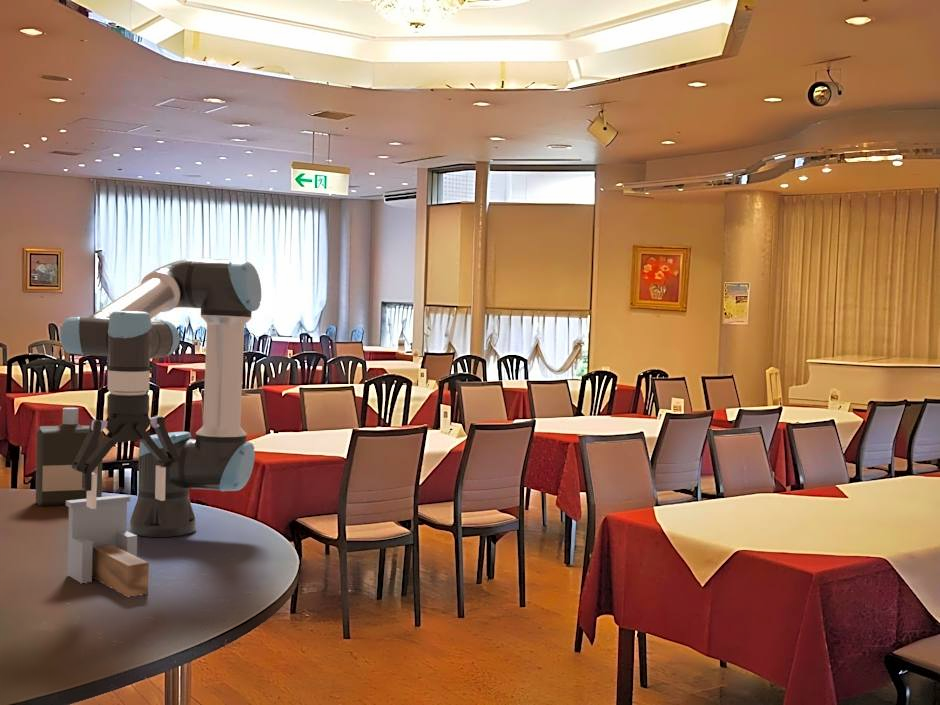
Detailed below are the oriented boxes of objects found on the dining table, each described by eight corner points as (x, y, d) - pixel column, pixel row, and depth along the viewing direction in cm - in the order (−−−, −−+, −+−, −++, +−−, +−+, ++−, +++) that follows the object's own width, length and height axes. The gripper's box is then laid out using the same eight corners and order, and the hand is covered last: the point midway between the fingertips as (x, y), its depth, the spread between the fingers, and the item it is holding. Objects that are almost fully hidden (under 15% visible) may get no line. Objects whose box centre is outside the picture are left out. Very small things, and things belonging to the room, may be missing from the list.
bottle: (35, 501, 268) (36, 406, 267) (99, 498, 275) (101, 406, 274) (36, 507, 261) (38, 410, 260) (102, 504, 268) (104, 409, 266)
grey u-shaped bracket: (122, 566, 209) (124, 494, 208) (138, 574, 203) (140, 500, 202) (64, 575, 200) (65, 500, 200) (78, 584, 195) (80, 507, 194)
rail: (111, 573, 203) (111, 544, 203) (148, 594, 191) (148, 562, 190) (91, 577, 200) (91, 547, 200) (127, 597, 188) (128, 565, 188)
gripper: (180, 388, 203) (178, 493, 205) (54, 393, 186) (52, 507, 188) (198, 392, 198) (195, 499, 199) (70, 397, 181) (68, 515, 182)
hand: (126, 503), depth 193 cm, fingers open, 13 cm apart
